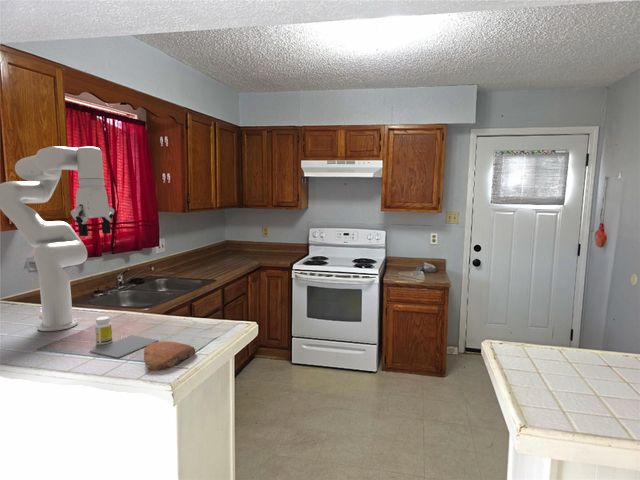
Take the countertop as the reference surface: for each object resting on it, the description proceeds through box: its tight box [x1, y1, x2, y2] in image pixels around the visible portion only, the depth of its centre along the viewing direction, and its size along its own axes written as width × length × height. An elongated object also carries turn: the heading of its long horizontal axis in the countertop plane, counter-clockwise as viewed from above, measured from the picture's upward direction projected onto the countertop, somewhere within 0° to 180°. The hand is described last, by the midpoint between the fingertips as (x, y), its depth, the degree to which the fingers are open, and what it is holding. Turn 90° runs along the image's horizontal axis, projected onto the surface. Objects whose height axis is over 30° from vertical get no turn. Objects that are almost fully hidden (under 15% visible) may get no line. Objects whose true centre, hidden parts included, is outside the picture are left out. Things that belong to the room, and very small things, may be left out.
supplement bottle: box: [94, 316, 113, 346], centre depth 139 cm, size 5×5×8 cm
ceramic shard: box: [143, 340, 196, 371], centre depth 124 cm, size 15×6×15 cm
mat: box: [89, 334, 159, 359], centre depth 136 cm, size 12×16×1 cm
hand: (95, 234), depth 143 cm, fingers open, 9 cm apart
